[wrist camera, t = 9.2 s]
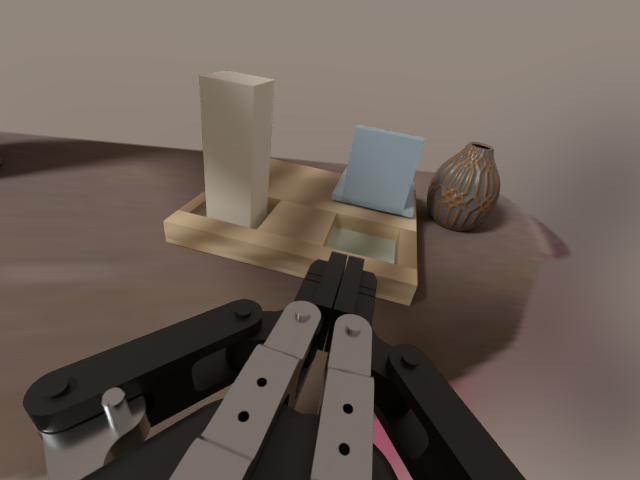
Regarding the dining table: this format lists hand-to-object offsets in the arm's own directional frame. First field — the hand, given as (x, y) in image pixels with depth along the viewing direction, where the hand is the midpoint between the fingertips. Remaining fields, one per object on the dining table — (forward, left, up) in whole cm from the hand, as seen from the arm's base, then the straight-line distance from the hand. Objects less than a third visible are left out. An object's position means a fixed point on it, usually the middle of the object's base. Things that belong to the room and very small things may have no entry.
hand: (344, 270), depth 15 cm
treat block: (-11, +13, -7) cm, 18 cm away
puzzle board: (-5, +17, -8) cm, 19 cm away
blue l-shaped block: (+1, +22, -5) cm, 22 cm away
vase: (+10, +24, -8) cm, 27 cm away
